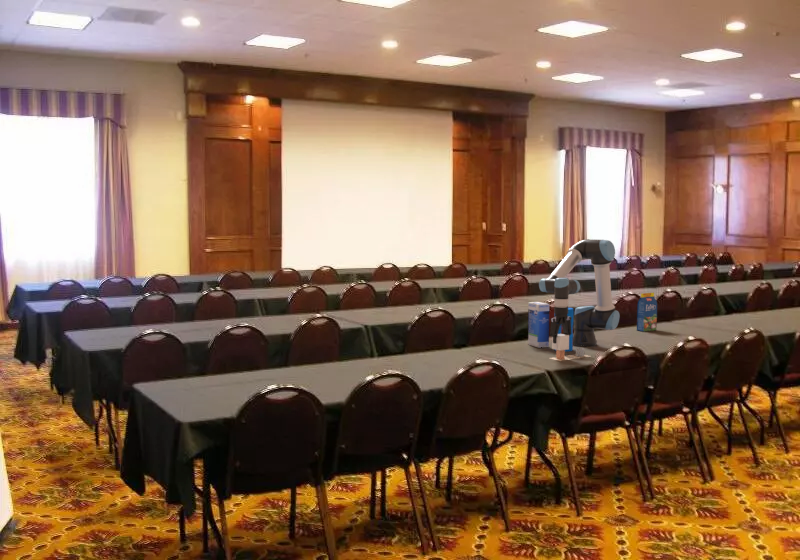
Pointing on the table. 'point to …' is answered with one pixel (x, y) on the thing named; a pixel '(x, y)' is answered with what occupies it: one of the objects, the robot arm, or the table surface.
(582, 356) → the board
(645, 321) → the blue food package
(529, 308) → the string lights box
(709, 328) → the table surface
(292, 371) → the table surface
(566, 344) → the white tilted cube
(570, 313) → the thermos
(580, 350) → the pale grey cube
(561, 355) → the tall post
